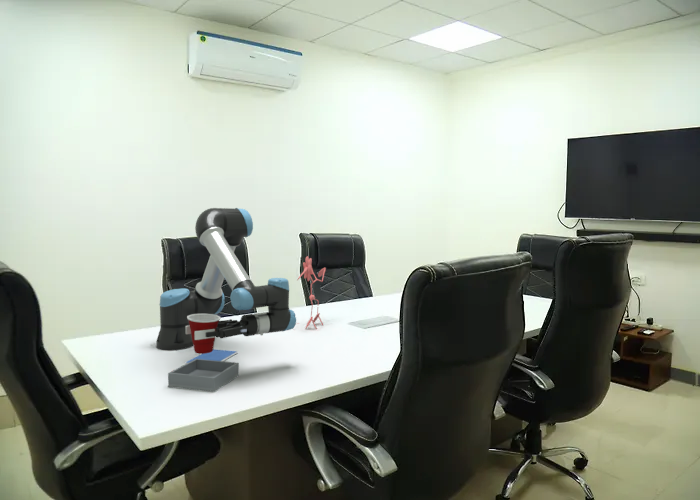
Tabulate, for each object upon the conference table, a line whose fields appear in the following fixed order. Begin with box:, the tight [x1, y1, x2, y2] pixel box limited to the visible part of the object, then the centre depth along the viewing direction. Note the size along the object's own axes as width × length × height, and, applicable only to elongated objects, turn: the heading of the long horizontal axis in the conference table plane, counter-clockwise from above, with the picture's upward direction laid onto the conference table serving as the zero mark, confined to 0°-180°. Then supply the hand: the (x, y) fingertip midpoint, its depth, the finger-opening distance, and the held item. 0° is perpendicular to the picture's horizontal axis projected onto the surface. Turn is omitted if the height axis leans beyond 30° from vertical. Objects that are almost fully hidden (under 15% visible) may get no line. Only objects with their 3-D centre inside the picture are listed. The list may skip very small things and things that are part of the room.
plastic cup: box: [187, 314, 222, 355], centre depth 170 cm, size 11×11×12 cm
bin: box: [167, 359, 240, 393], centre depth 171 cm, size 17×17×4 cm
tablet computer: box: [184, 348, 238, 365], centre depth 197 cm, size 19×13×1 cm, turn 165°
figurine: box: [292, 255, 327, 331], centre depth 251 cm, size 15×26×35 cm, turn 163°
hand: (190, 332), depth 167 cm, fingers closed on plastic cup, 8 cm apart
